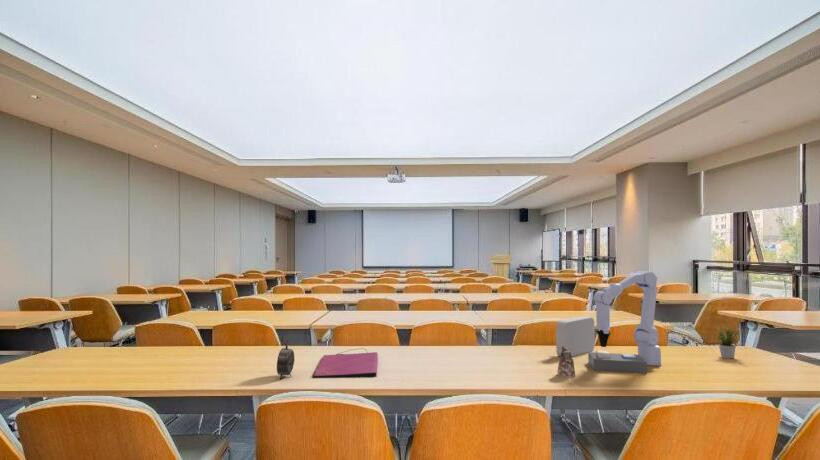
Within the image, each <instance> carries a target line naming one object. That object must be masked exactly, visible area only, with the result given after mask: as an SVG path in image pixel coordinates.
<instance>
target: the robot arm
mask: <svg viewBox="0 0 820 460" xmlns="http://www.w3.org/2000/svg"><path fill="white" fill-rule="evenodd" d="M657 281H658V277H657V276H656V274H655V273H654V272H653V271H639V270H634V271H632V272H630V273H629V275H628V276H626V277H625V278H624V279H622V280H621V281H619V282H618V283H616V282H614V283H613V282H612V283H610V284H609V286H606V287H605V288H603V289H602V290H597V291H596V292H595V293H594V295H593V297H592V298H593V302H594V303H595V306H596V308H595V309H596V310H595V312H596V314H595V316H596V317H595V318H596V319H595V320H596V321H595V322H596V323H595V324H596V325H594V329H598V330H596V334H597V336H598V340H599V344H600V347H602V348H606V347H607V345H608V340H609V338H610V336H611V331H610V330H611V325H610V324H611V323H610V322H611V319H610V318H611V317H610V316H611V315H610V314H611V313H610V310H611V308H610V304H612V303H613V300H614V299H615V298H617V297H618V296H620V295H621V294H623V290H625V289H627V288H630V286H633V285H634V284H635V285H636V286H638V287H639V288H640V289H641V290H642V291H643V296H642V304H641V305H642V306H641V316H640V323H639V324H637V325H636V327H635V330H634V332H633V339H634V340H635V341H636V344H637V355H639V356H640V357H641V358H642V359H644V360H645V361H646V362H647V366H659V367H662V366H663V365H662V355H661V354H662V351H661V347H660V345H657V344H658V343H659V338H660V337H659V334H658V333H659V332H658V330H659V329H657V328H656V327H655V325H654V322H655V321H654V319H655V313H656V302H657V293H658V292H657V290H658V288H657Z"/></svg>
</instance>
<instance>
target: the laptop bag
mask: <svg viewBox="0 0 820 460" xmlns="http://www.w3.org/2000/svg"><path fill="white" fill-rule="evenodd" d="M360 349H361V350H365V351H366V352H363V353H362V352H361V353H360V352H359V353H346V352H347V350H346V351H341V352H339V353H336V354H324V355H323V356H322V359H320V361H319V364H318V365H317V367H316V369H315V371H314V373H313V375H312V379H332V378H333V379H335V378H336V379H337V378H344V379H345V378H377V376H378V375H377V374H378V362H379V357H378V355H379V354H378V352H376V351H375V352H368V350H367V349H366V348H359V350H360ZM355 350H357V348H354V349H353V351H355ZM349 351H351V349H349V350H348V352H349ZM344 353H345V354H344Z"/></svg>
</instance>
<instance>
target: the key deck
mask: <svg viewBox="0 0 820 460" xmlns="http://www.w3.org/2000/svg"><path fill="white" fill-rule="evenodd" d="M609 353H610V352H609ZM587 354H588V355H587V356H588V357H587V358H588V359H587V360H588V364H589V366H590V367H591V369H592V370H593V371H596V372H612V373H614V372H615V373H630V374H646V375H647V374H648V365H647V362H646V361H645V360H644V359H642V358H641V357H640V356H639V355H638V354H632V355H635V356H636V359H623V358H622V354H623V353H610V358H599V357H597V352H594V351H593V352H592V351H591V352H587Z"/></svg>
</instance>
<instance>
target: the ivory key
mask: <svg viewBox="0 0 820 460" xmlns="http://www.w3.org/2000/svg"><path fill="white" fill-rule="evenodd" d="M596 353H597V357H599V358H610V352H609V350H596Z"/></svg>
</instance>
